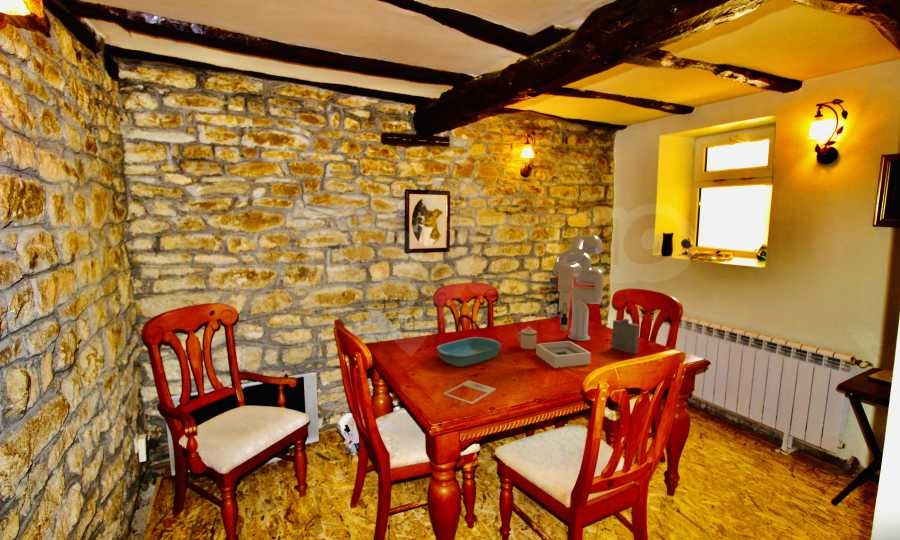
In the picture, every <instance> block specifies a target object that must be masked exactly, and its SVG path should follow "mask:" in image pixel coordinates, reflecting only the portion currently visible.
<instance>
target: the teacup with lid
mask: <svg viewBox="0 0 900 540" xmlns="http://www.w3.org/2000/svg"><path fill="white" fill-rule="evenodd" d="M537 336H538V332H537V330H535V329H533V328H531V326H527V327H526V328H524V329H521V331H520V332H518V333H517V334H516V337H517V339H518V341H519V342H520V347H521V348H522V349H525V350H536V344H537Z"/></svg>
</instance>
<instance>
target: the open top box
mask: <svg viewBox="0 0 900 540" xmlns="http://www.w3.org/2000/svg"><path fill="white" fill-rule="evenodd" d="M535 355H536V356H537V355H538V356H537V357H538V358H540V359H541V358H542V360H543V361H544V360H545V361H544V362H546V363H547V364H548V363H549V364H548V365H549V366H551V367H552V368H554V369H558V368H559V367H560V368H570V367H577V366H578V365H579V366H585V365H586V366H587V365H591V357H592V356H591V355H592V352H590V351H588V350H586V349H584V348H583V347H581V346H580V345H578V344H576V343H574V342H573V341H570V340H565V341H555V342H554V341H553V342H552V341H551V342H543V343H541V342H540V343H536V348H535Z"/></svg>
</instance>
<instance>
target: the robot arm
mask: <svg viewBox="0 0 900 540" xmlns="http://www.w3.org/2000/svg"><path fill="white" fill-rule="evenodd" d="M603 249H604V244H603V241H602V239H601V238H600V237H599V236H597V235H593V234H592V235H591V234H579V235H576V236H574V237H573V239H572V241H571V243H570V246H569V248H568V249H566V250H565V251H564V252H561V253H560V254H558V256H556V259H555V261H554V263H553V266H552V272H553V274H554V275H555V276H556V277H558V280H557V281H558V282H557V292H558V293H559V296H558V297H559V300H558V311H559V312H561V311H562V317H561V325H567V321H568V322H569V316H568V317H567V311H569V312H570V306H571V305H572V308H571V312H572V313H571V328H568V330H569V331H570V333H569V334H568V339H570V340H573V341H578V342H585V341H590V340H591V336H590V335H589V333H588V331H589V316H590V315H589V313H590V310H589V307H588V305H587V304H593V305H595V304H596V305H598V304H601V303H602V300H603V293H604V282H605V281H604V279H605V278H604V277H605V276H604V272H603V270H601V269H600V268H599V269H597V268H592V262H593V261H592V257H591V256H589V254H595V255H600V254H601V253H602V252H603ZM574 278H575V279H574ZM574 282H576V283H577V284H579V286H574ZM580 284H581V285H590V286H580ZM592 286H594V287H592ZM571 300H572V304H571ZM570 304H571V305H570ZM563 310H564V311H563ZM566 310H567V311H566ZM563 312H564V313H563Z"/></svg>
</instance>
